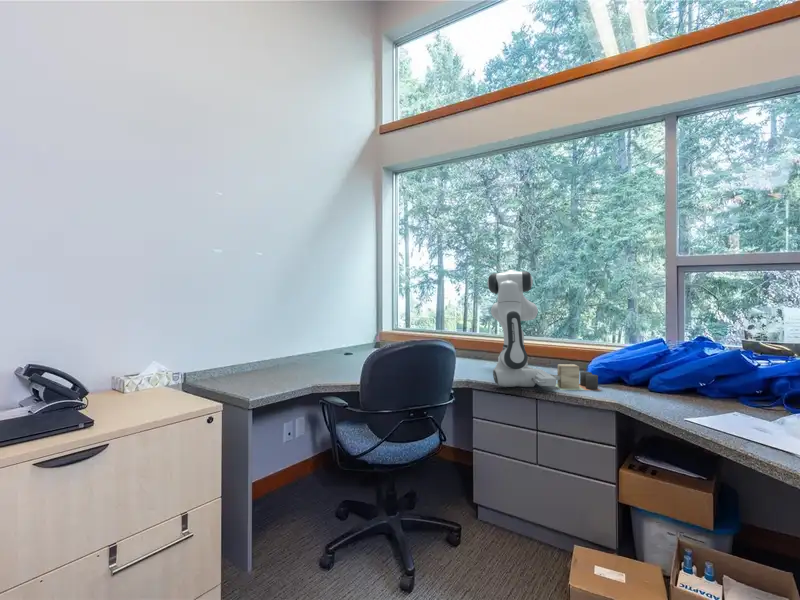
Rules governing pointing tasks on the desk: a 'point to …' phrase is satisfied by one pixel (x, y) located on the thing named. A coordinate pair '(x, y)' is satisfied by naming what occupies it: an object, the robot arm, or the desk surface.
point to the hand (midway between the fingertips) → (559, 377)
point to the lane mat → (563, 388)
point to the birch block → (568, 376)
